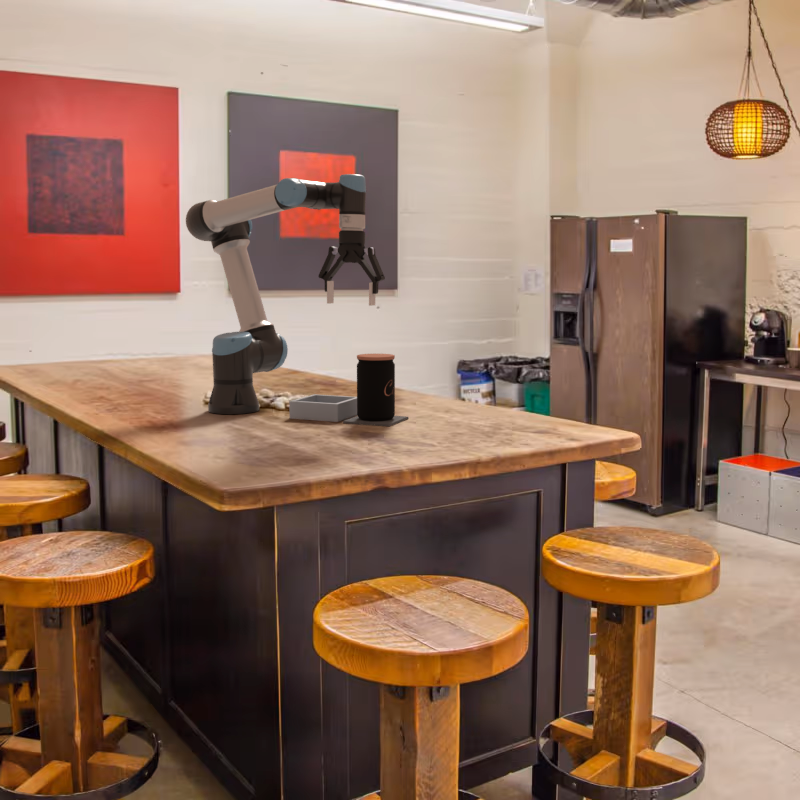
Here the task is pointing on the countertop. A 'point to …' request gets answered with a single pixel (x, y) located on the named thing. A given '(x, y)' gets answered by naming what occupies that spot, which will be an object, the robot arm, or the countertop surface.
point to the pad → (378, 423)
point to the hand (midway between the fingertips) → (350, 304)
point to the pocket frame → (323, 408)
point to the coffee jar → (375, 387)
